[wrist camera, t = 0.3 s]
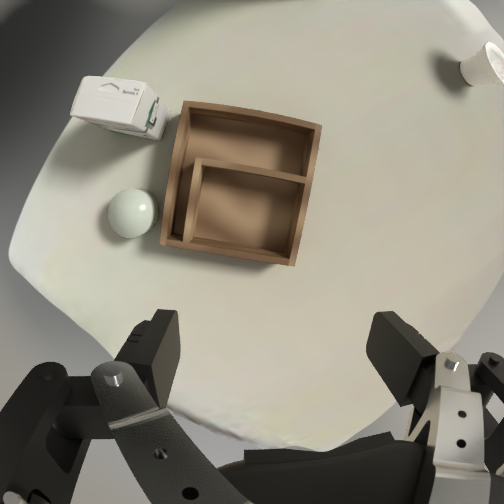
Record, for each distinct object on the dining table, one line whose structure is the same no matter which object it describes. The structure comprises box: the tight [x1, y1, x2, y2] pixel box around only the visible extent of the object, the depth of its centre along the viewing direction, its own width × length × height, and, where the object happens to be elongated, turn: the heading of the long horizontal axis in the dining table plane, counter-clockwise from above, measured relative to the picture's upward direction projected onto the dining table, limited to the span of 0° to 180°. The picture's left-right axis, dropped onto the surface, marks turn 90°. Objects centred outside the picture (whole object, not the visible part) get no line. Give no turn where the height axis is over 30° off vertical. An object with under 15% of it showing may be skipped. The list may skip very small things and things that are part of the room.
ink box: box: [70, 76, 171, 141], centre depth 27 cm, size 9×5×12 cm, turn 73°
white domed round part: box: [108, 188, 159, 238], centre depth 35 cm, size 6×6×4 cm
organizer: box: [160, 101, 322, 266], centre depth 34 cm, size 18×17×4 cm
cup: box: [460, 41, 504, 86], centre depth 27 cm, size 9×9×10 cm
